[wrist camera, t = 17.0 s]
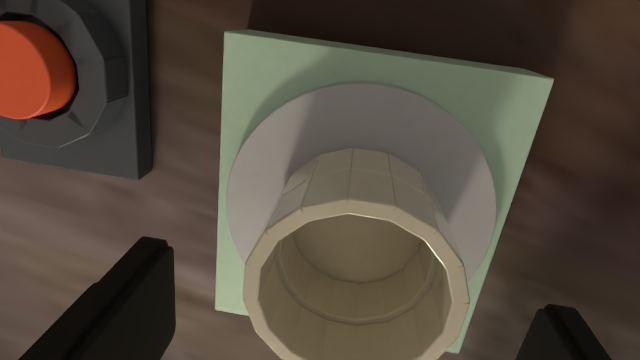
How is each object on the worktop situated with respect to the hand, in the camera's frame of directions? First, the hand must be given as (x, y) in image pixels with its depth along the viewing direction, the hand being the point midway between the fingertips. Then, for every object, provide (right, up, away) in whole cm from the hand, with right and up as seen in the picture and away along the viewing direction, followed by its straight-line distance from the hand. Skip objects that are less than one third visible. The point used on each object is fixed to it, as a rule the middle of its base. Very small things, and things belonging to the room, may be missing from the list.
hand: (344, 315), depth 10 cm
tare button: (-12, +8, +6) cm, 16 cm away
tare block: (-12, +9, +9) cm, 17 cm away
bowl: (+1, +2, +6) cm, 6 cm away
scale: (+1, +3, +9) cm, 10 cm away
